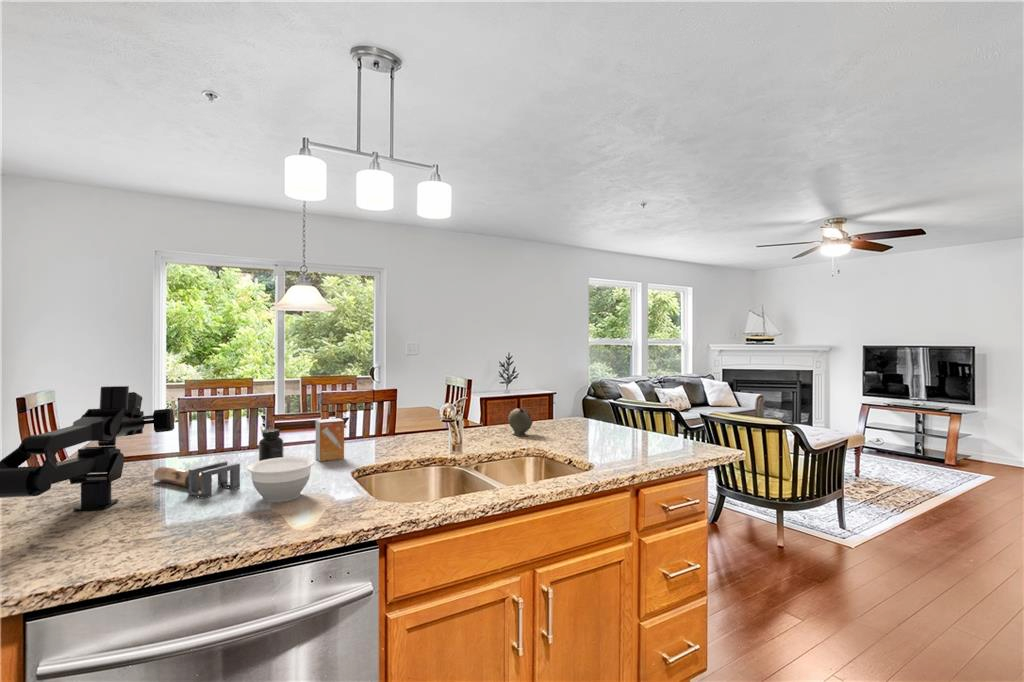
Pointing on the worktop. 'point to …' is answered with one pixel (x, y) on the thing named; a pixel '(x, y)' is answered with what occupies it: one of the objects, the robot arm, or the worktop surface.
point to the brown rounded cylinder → (174, 476)
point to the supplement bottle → (270, 445)
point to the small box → (329, 439)
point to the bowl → (280, 477)
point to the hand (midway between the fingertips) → (150, 421)
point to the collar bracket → (206, 478)
